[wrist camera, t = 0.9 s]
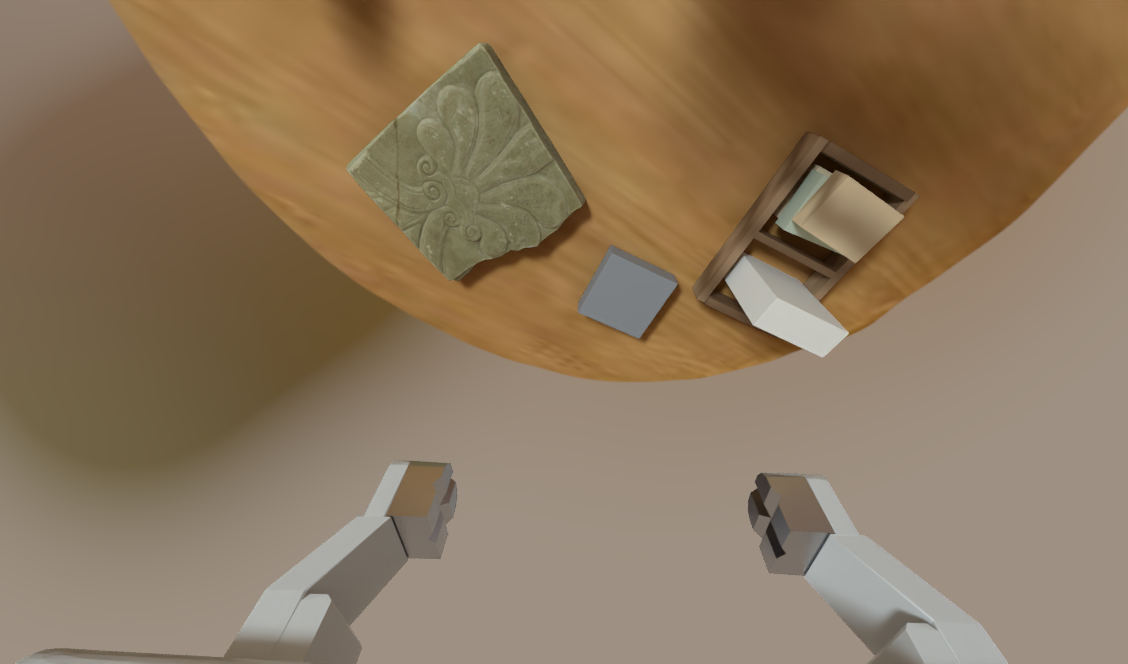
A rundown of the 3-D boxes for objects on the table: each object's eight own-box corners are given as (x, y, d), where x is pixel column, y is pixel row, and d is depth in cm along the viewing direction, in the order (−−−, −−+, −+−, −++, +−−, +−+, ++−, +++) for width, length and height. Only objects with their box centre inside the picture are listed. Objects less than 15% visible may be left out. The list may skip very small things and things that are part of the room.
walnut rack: (806, 131, 42) (823, 136, 39) (901, 188, 44) (923, 197, 41) (691, 287, 52) (698, 301, 49) (773, 326, 55) (784, 341, 52)
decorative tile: (353, 162, 46) (337, 169, 43) (488, 39, 39) (479, 38, 36) (463, 286, 54) (456, 299, 51) (591, 202, 47) (591, 212, 44)
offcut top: (835, 169, 39) (848, 175, 37) (889, 209, 41) (904, 216, 39) (791, 219, 42) (801, 227, 40) (843, 254, 44) (855, 263, 42)
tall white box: (738, 249, 49) (777, 297, 39) (798, 279, 51) (849, 333, 41) (720, 273, 51) (752, 325, 41) (778, 301, 52) (822, 357, 43)
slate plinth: (611, 245, 49) (611, 253, 47) (674, 275, 51) (677, 284, 49) (578, 302, 54) (577, 312, 52) (637, 328, 56) (639, 338, 54)
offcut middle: (812, 169, 42) (823, 174, 40) (875, 198, 43) (889, 204, 41) (775, 222, 45) (784, 230, 43) (835, 248, 46) (846, 256, 44)
